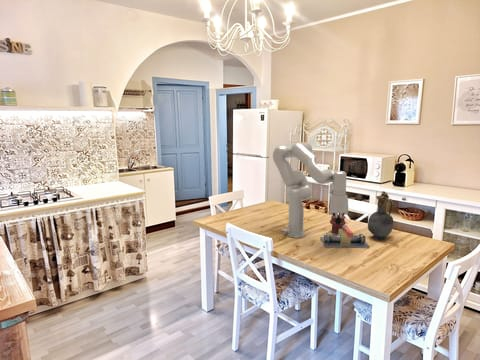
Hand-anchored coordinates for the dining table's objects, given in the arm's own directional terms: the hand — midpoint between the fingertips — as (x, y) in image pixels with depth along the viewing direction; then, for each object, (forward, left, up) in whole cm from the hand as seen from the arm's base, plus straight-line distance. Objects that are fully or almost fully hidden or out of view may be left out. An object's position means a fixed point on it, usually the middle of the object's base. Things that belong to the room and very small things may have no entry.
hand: (337, 223), depth 185 cm
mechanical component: (+7, +26, -15) cm, 31 cm away
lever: (+7, +3, -7) cm, 10 cm away
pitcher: (+33, +19, -15) cm, 41 cm away
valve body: (+7, +8, -15) cm, 18 cm away
